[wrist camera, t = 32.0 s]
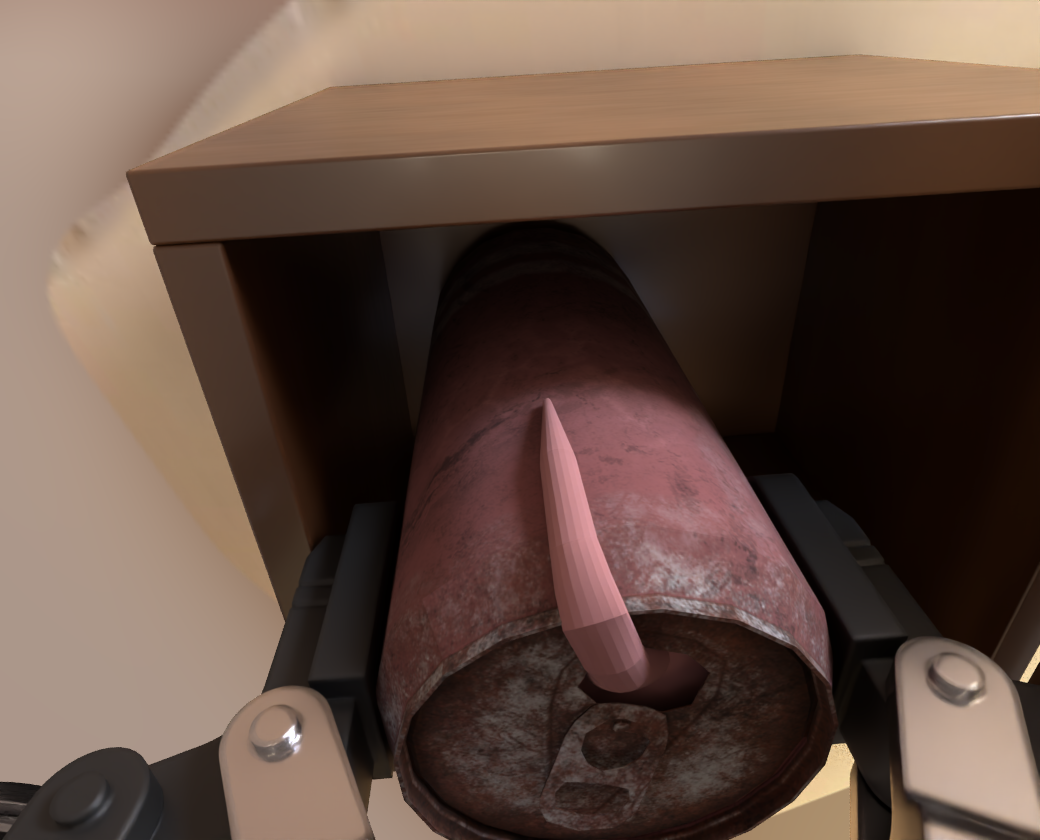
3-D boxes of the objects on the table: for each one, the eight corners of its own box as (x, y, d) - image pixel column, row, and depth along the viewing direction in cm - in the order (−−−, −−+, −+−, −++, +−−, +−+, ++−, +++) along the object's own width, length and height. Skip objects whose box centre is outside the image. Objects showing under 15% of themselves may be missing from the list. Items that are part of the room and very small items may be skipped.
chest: (398, 465, 24) (338, 777, 14) (328, 87, 18) (121, 170, 8) (784, 437, 25) (995, 725, 15) (860, 54, 18) (1351, 94, 8)
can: (599, 180, 18) (844, 498, 6) (654, 371, 21) (886, 832, 9) (397, 258, 18) (245, 679, 7) (480, 431, 22) (481, 925, 10)
